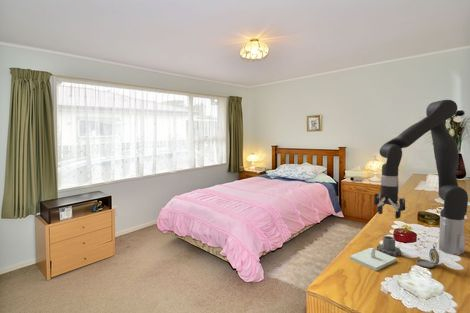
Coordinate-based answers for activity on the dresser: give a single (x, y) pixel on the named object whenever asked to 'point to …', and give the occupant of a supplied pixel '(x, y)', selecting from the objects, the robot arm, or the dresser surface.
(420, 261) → the pocket watch
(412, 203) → the dresser surface
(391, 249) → the planet gear
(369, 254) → the plate
